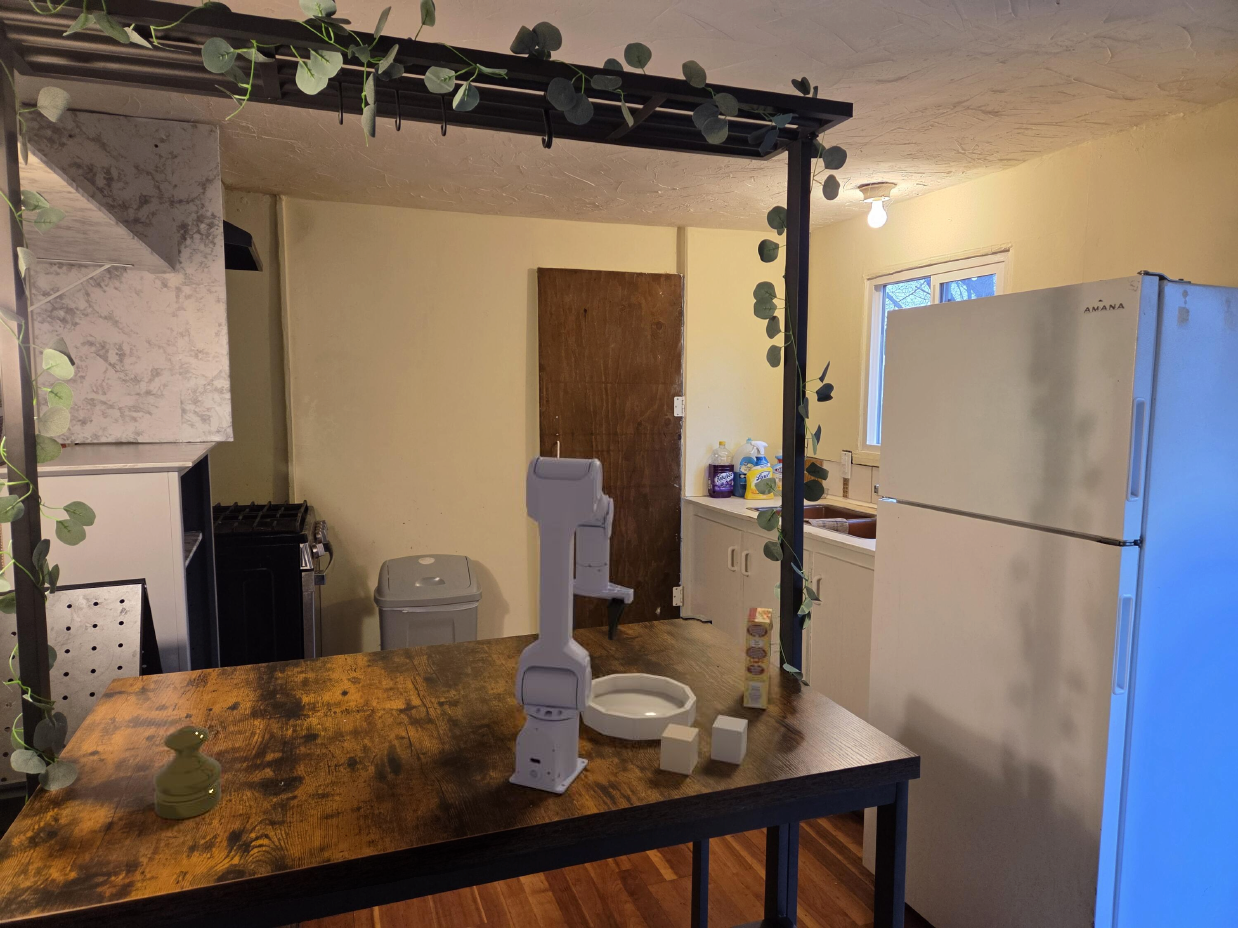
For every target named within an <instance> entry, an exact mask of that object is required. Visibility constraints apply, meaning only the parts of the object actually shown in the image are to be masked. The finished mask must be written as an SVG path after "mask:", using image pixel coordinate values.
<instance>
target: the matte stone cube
mask: <svg viewBox="0 0 1238 928" xmlns="http://www.w3.org/2000/svg"><path fill="white" fill-rule="evenodd" d="M748 723H749V720H748V719H744V718H738V717H733V716H727V715H721V714H719V715H718V716H717V717H716V719H715V720H714V723H713V725H712V727H711V749H710V760H715V761H721V762H726V763H729V764H735V765H741V764H742V762H743V760H744V758H745V755H746V753H747V741H748V739H747V738H748V726H749V725H748Z"/></svg>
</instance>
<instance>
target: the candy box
mask: <svg viewBox="0 0 1238 928" xmlns="http://www.w3.org/2000/svg"><path fill="white" fill-rule="evenodd" d="M772 622H773V609H772V608H762V607H750V608H749V611H748V617H747V620H746V628H745V629H746V630H745V631H746V632H745V656H744V657H745V658H744V661H745V662H744V687H743V707H745V708H754V709H763V710H766V709H767V705H768V698H769V689H770V688H769V687H770V674H771V673H770V672H771V650H772V648H771V647H772Z"/></svg>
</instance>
